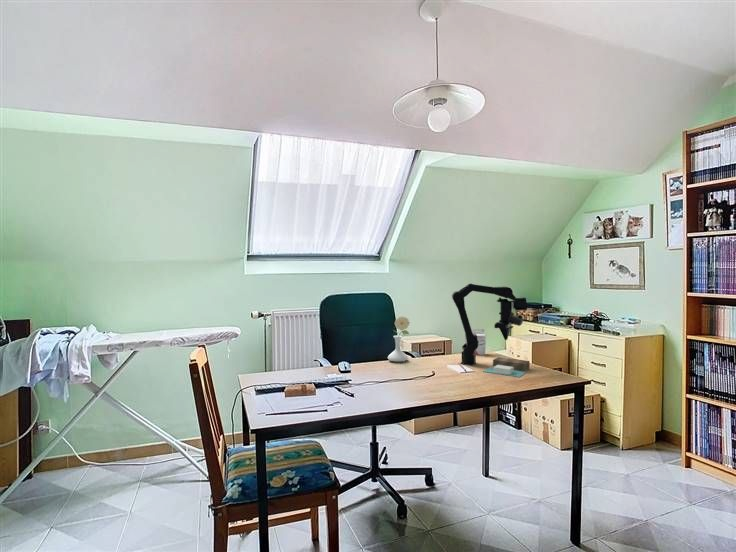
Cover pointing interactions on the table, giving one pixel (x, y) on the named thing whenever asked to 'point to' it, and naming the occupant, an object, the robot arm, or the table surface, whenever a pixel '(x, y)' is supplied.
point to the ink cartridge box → (480, 341)
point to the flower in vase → (397, 353)
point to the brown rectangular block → (512, 363)
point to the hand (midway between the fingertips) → (506, 339)
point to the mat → (515, 374)
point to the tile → (503, 369)
